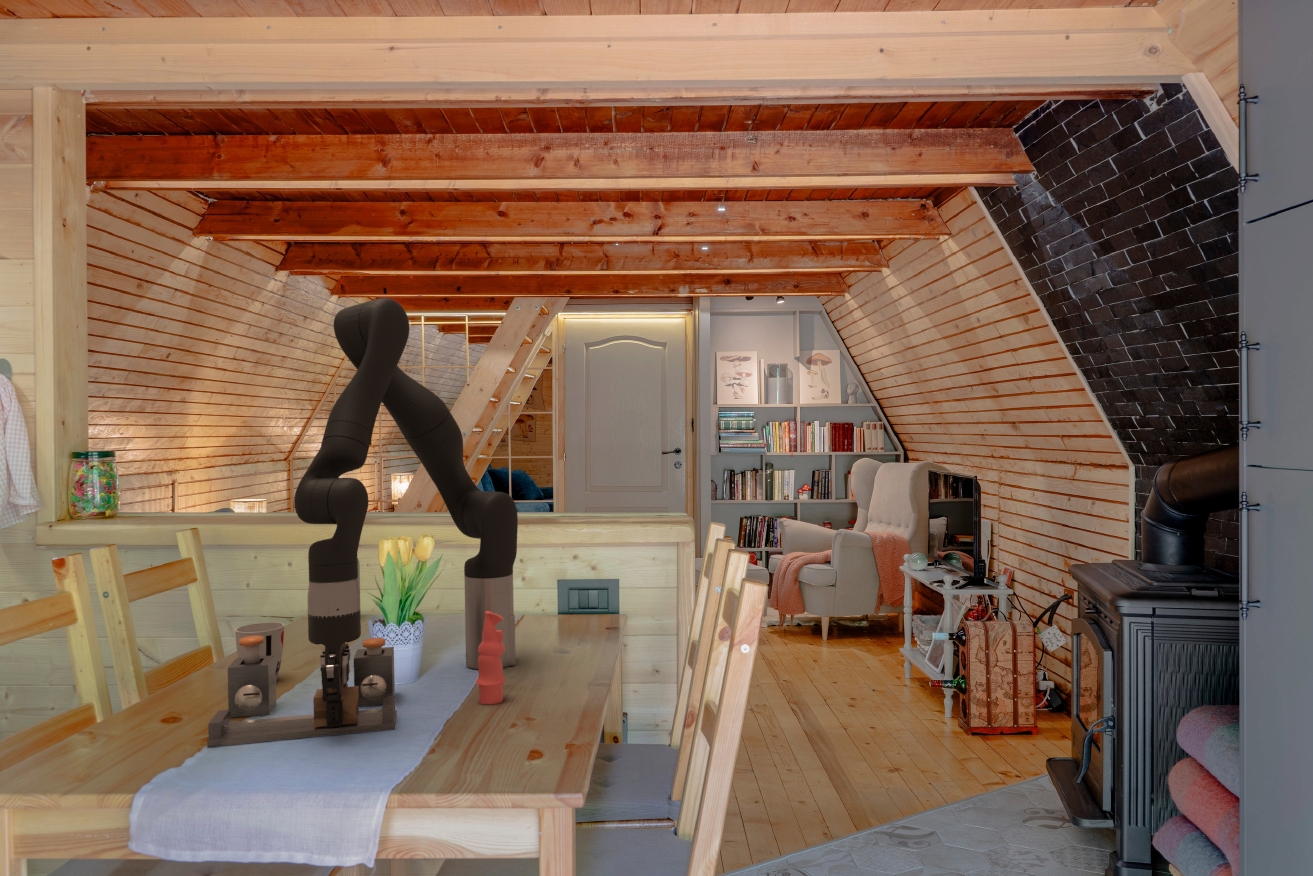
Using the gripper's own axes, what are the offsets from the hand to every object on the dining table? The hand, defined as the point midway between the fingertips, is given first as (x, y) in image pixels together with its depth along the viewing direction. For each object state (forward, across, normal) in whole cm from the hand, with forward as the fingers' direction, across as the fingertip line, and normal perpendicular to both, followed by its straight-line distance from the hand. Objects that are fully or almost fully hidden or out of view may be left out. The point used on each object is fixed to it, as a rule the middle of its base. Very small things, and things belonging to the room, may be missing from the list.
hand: (336, 719), depth 133 cm
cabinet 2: (+1, +13, -5) cm, 14 cm away
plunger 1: (-6, +13, +14) cm, 20 cm away
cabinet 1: (+1, +13, +14) cm, 19 cm away
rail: (+1, 0, +4) cm, 5 cm away
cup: (+2, +30, +16) cm, 34 cm away
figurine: (+2, +7, -24) cm, 25 cm away
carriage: (0, 0, 0) cm, 0 cm away
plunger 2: (-5, +13, -5) cm, 15 cm away
